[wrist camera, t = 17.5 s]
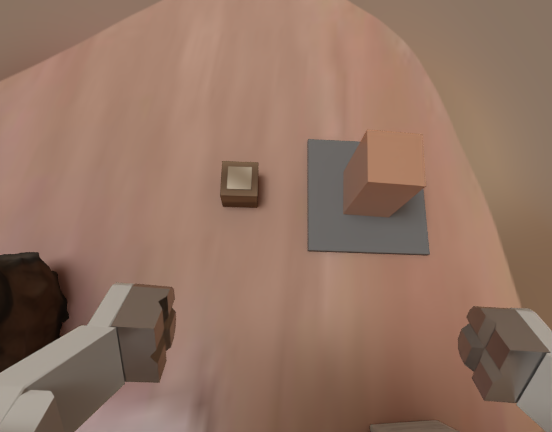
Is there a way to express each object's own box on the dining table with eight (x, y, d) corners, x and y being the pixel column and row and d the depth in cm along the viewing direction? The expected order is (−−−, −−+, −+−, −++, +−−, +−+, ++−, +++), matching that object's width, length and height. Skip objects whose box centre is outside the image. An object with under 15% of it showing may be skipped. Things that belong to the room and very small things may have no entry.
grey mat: (427, 255, 44) (429, 254, 43) (307, 251, 43) (308, 249, 42) (416, 146, 48) (418, 144, 47) (307, 141, 47) (308, 139, 46)
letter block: (257, 207, 44) (257, 195, 40) (223, 206, 44) (219, 194, 40) (258, 176, 45) (258, 161, 41) (224, 175, 45) (222, 160, 41)
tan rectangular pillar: (388, 217, 44) (425, 186, 34) (343, 214, 44) (367, 181, 34) (387, 175, 46) (422, 134, 36) (343, 171, 45) (367, 129, 36)
